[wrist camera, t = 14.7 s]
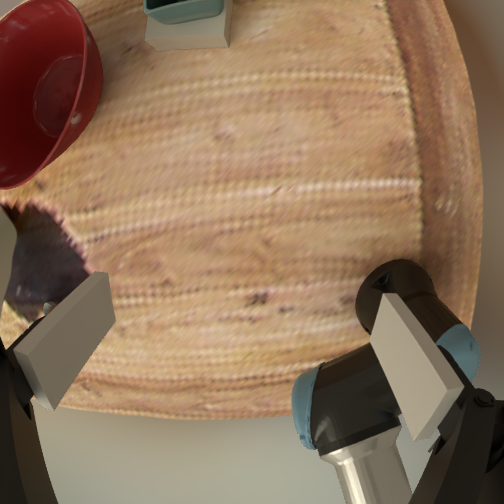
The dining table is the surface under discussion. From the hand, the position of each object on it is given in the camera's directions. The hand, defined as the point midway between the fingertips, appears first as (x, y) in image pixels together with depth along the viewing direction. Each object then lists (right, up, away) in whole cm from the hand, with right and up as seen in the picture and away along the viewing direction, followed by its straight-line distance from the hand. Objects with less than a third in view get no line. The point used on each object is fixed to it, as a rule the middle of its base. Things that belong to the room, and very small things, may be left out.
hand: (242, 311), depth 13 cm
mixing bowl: (-32, +30, +25) cm, 50 cm away
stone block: (-8, +38, +21) cm, 44 cm away
